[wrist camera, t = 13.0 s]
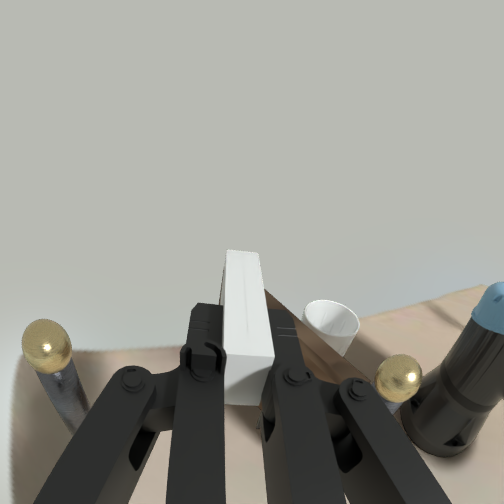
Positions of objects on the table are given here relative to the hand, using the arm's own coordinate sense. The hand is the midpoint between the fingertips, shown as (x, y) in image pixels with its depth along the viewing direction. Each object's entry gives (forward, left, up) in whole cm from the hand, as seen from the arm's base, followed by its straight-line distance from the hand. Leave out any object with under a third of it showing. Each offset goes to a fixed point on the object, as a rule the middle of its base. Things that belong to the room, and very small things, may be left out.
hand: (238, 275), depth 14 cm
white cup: (-20, -9, -25) cm, 33 cm away
